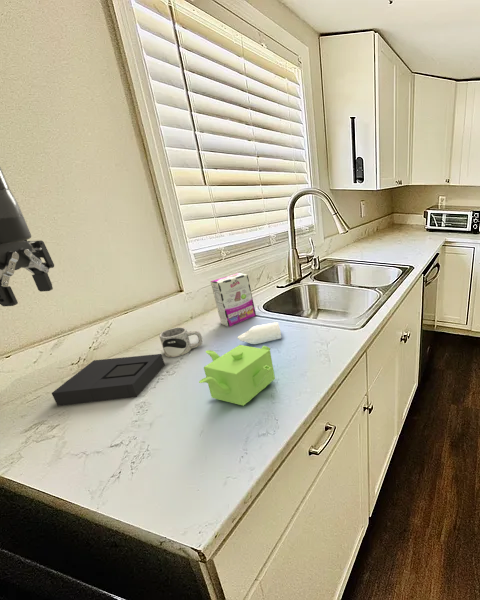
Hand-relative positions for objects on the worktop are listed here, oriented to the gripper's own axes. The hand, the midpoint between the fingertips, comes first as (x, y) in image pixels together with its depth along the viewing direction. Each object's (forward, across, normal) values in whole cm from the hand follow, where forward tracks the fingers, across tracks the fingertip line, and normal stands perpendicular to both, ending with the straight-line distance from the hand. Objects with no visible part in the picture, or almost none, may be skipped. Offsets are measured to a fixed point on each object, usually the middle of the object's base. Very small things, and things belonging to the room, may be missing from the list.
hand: (29, 297), depth 66 cm
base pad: (+26, -6, +5) cm, 27 cm away
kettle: (+26, +4, +37) cm, 46 cm away
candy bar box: (+26, -41, +25) cm, 55 cm away
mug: (+26, -21, +15) cm, 37 cm away
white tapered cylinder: (+26, -22, +36) cm, 50 cm away
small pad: (+26, -6, +8) cm, 28 cm away
